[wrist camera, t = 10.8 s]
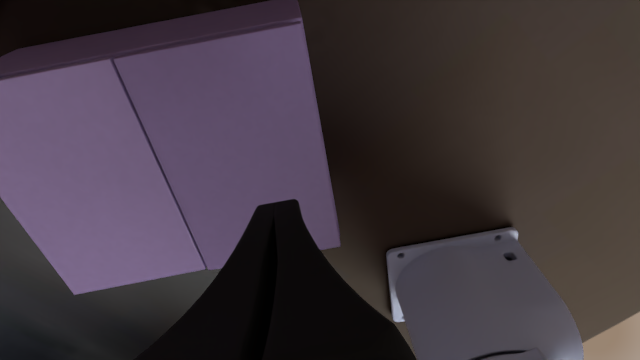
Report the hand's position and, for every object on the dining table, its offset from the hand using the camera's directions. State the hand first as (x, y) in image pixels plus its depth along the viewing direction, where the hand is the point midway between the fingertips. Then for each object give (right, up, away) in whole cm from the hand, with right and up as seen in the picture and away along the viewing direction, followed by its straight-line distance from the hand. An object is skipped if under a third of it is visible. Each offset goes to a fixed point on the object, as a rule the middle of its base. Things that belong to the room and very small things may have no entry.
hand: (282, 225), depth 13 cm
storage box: (-6, +5, +9) cm, 12 cm away
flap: (-9, +1, +4) cm, 10 cm away
